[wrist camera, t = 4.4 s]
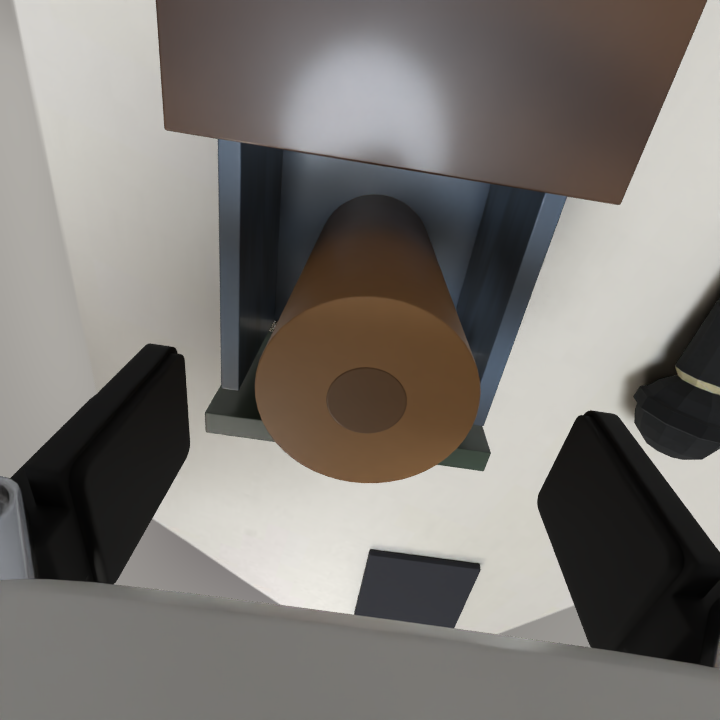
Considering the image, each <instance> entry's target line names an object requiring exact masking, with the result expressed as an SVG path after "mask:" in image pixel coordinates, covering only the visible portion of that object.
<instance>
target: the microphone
mask: <svg viewBox="0 0 720 720" xmlns="http://www.w3.org/2000/svg"><path fill="white" fill-rule="evenodd" d="M675 367H676V371H677V375H675V376H671V377H667V378H662V379H658V380H657V381H655V382H654V383H652V384H650V385H645V386H640V387H639V389H638V390H637V392H636V394H635V395H634V398H635V400H636V401H637V406H636V409H635V421H634V423H635V425H636V426H637V428H638V430H639V431H640V433H641V435H642V436H643V438H644V439H645V441H646V443H647V444H649V445H650V446H651V447H653V448H654V449H656V450H657V451H659V452H661V453H663V454H666V455H668V456H670V457H673V458H678V459H682V460H696V459H703V458H705V457H707V456H709V455H710V454H712V453H714V452H715V451H717V450H719V449H720V298H719V299H718V301H717V302H716V304H715V305H714V307H713V308H712V310H711V312H710V313H709V315H708V316H707V318H706V319H705V321H704V322H703V324H702V325H701V327H700V328H699V330H698V331H697V333H696V334H695V336H694V337H693V339H692V340H691V342H690V343H689V345H688V346H687V348H686V349H685V351H684V353H683V354H682V356H681V357H680V359H679V360H678V362H677V363H676V365H675Z"/></svg>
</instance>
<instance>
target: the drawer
mask: <svg viewBox="0 0 720 720" xmlns="http://www.w3.org/2000/svg"><path fill="white" fill-rule="evenodd" d="M218 182H219V254H220V327H221V386H220V388H219V389H218V391H217V393H216V394H215V396H214V398H213V400H212V401H211V403H210V405H209V407H208V408H207V410H206V412H205V425H206V432H208V433H215V434H222V435H229V436H237V437H244V438H251V439H258V440H265V441H272V442H275V441H274V439H273V438H272V437H271V435H270V434H269V432H268V431H267V429H266V427H265V425H264V423H263V422H262V419H261V417H260V414H259V411H258V408H257V403H256V398H255V377H256V371H257V367H258V364H259V360H260V358H261V356H262V353H263V351H264V349H265V347H266V345H267V343H268V341H269V339H270V337H271V335H272V333H273V332H269V330H270V328H271V326H272V324H273V322H274V321H278V320H279V318H280V316H281V314H282V312H283V310H284V308H285V306H286V304H287V302H288V300H289V298H290V295H291V293H292V291H293V289H294V287H295V285H296V283H297V281H298V279H299V277H300V275H301V273H302V271H303V269H304V267H305V265H306V263H307V260H308V258H309V256H310V254H311V252H312V250H313V248H314V246H315V244H316V242H317V240H318V238H319V236H320V234H321V232H322V230H323V228H324V225H325V223H326V222H327V220H328V219H329V217H330V216H331V215H332V214H333V212H334V211H335V210H337V209H338V208H339V207H340V206H341V205H343V204H344V203H346V202H348V201H350V200H352V199H354V198H357V197H360V196H365V195H385V196H389V197H392V198H395V199H397V200H399V201H401V202H403V203H405V204H406V205H408V206H409V207H410V208H411V209H412V210H413V211H414V212H415V213H416V214H417V215H418V216H419V218H420V219H421V221H422V222H423V224H424V226H425V229H426V231H427V234H428V236H429V239H430V242H431V244H432V247H433V250H434V252H435V255H436V258H437V261H438V263H439V266H440V269H441V271H442V274H443V277H444V279H445V282H446V285H447V288H448V290H449V293H450V296H451V298H452V301H453V304H454V306H455V309H456V312H457V314H458V317H459V320H460V323H461V325H462V328H463V331H464V333H465V336H466V339H467V341H468V344H469V347H470V349H471V352H472V355H473V358H474V360H475V363H476V366H477V369H478V373H479V378H480V389H481V395H480V404H479V408H478V412H477V416H476V419H475V421H474V423H473V426H472V428H471V430H470V431H469V433H468V434H467V436H466V438H465V439H464V440H463V442H462V443H461V444H460V445H459V446H458V448H457V449H456V450H455V451H454V452H452V453H451V454H450V455H449V456H448V457H447V458H445V459H444V460H443V461H441V462H440V463H439V464H437V465H443V466H450V467H457V468H464V469H471V470H478V471H484V469H485V467H486V464H487V461H488V459H489V456H490V454H491V452H490V449H489V446H488V443H487V440H486V437H485V433H484V430H483V427H482V426H484V423H485V420H486V418H487V415H488V412H489V409H490V407H491V404H492V401H493V398H494V396H495V393H496V390H497V387H498V385H499V382H500V379H501V376H502V374H503V371H504V368H505V365H506V363H507V360H508V357H509V355H510V352H511V349H512V346H513V344H514V341H515V338H516V335H517V333H518V330H519V327H520V324H521V322H522V319H523V316H524V313H525V311H526V308H527V305H528V302H529V300H530V297H531V294H532V291H533V289H534V286H535V283H536V280H537V278H538V275H539V272H540V269H541V267H542V264H543V261H544V258H545V256H546V253H547V250H548V248H549V245H550V242H551V239H552V237H553V234H554V231H555V228H556V226H557V223H558V220H559V217H560V215H561V212H562V209H563V206H564V204H565V201H566V198H567V196H561V195H555V194H549V193H543V192H537V191H531V190H525V189H519V188H512V187H506V186H500V185H494V184H488V183H482V182H476V181H470V180H464V179H458V178H452V177H446V176H440V175H434V174H428V173H422V172H416V171H409V170H403V169H397V168H391V167H385V166H379V165H373V164H367V163H361V162H355V161H349V160H343V159H337V158H331V157H325V156H319V155H312V154H306V153H300V152H294V151H288V150H282V149H276V148H270V147H264V146H258V145H252V144H246V143H240V142H234V141H228V140H222V139H218Z"/></svg>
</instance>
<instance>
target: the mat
mask: <svg viewBox="0 0 720 720" xmlns="http://www.w3.org/2000/svg"><path fill="white" fill-rule="evenodd" d="M479 572H480V565H479V564H474V563H467V562H459V561H451V560H444V559H436V558H429V557H421V556H414V555H406V554H399V553H391V552H384V551H376V550H370V551H369V555H368V559H367V563H366V568H365V572H364V576H363V580H362V584H361V588H360V592H359V596H358V600H357V604H356V609H355V613H354V615H359V616H366V617H374V618H381V619H389V620H396V621H403V622H411V623H418V624H425V625H433V626H440V627H447V628H454V627H455V625H456V623H457V621H458V618H459V616H460V614H461V612H462V610H463V607H464V605H465V603H466V601H467V599H468V596H469V594H470V592H471V590H472V588H473V585H474V583H475V581H476V579H477V577H478V574H479Z"/></svg>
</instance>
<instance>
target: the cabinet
mask: <svg viewBox="0 0 720 720" xmlns="http://www.w3.org/2000/svg"><path fill="white" fill-rule="evenodd" d="M706 2H707V0H156V10H157V25H158V40H159V54H160V69H161V84H162V99H163V113H164V128H165V130H167V131H173V132H179V133H185V134H191V135H197V136H203V137H209V138H216V139H222V140H228V141H234V142H240V143H246V144H252V145H258V146H264V147H270V148H276V149H282V150H288V151H294V152H300V153H306V154H312V155H319V156H325V157H331V158H337V159H343V160H349V161H355V162H361V163H367V164H373V165H379V166H385V167H391V168H397V169H403V170H409V171H416V172H422V173H428V174H434V175H440V176H446V177H452V178H458V179H464V180H470V181H476V182H482V183H488V184H494V185H500V186H506V187H512V188H519V189H525V190H531V191H537V192H543V193H549V194H555V195H561V196H567V197H573V198H579V199H585V200H591V201H597V202H603V203H609V204H616V205H619V204H621V202H622V200H623V197H624V195H625V192H626V190H627V188H628V185H629V183H630V181H631V178H632V176H633V174H634V171H635V169H636V167H637V164H638V162H639V160H640V157H641V155H642V153H643V150H644V148H645V146H646V143H647V141H648V138H649V136H650V134H651V131H652V129H653V127H654V124H655V122H656V120H657V117H658V115H659V113H660V110H661V108H662V106H663V103H664V101H665V99H666V96H667V94H668V92H669V89H670V87H671V84H672V82H673V80H674V77H675V75H676V73H677V70H678V68H679V66H680V63H681V61H682V59H683V56H684V54H685V52H686V49H687V47H688V45H689V42H690V40H691V38H692V35H693V33H694V31H695V28H696V26H697V23H698V21H699V19H700V16H701V14H702V12H703V9H704V7H705V5H706Z"/></svg>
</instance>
